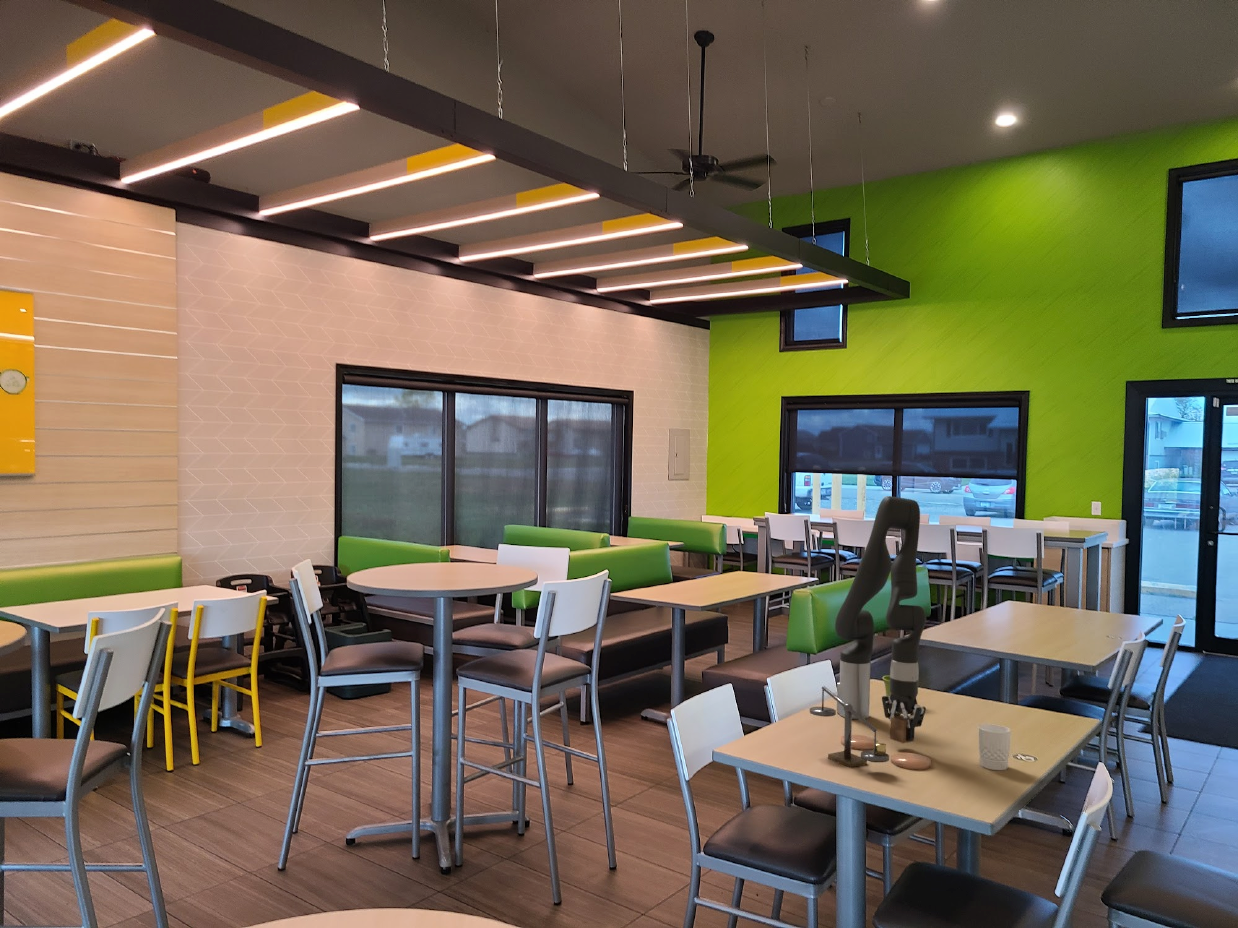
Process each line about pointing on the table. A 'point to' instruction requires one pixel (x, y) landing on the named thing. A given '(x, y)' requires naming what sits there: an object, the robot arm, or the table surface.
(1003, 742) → the white cup
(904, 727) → the walnut block
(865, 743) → the dish left
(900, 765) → the dish right
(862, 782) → the table surface
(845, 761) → the balance
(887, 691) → the plant pot
